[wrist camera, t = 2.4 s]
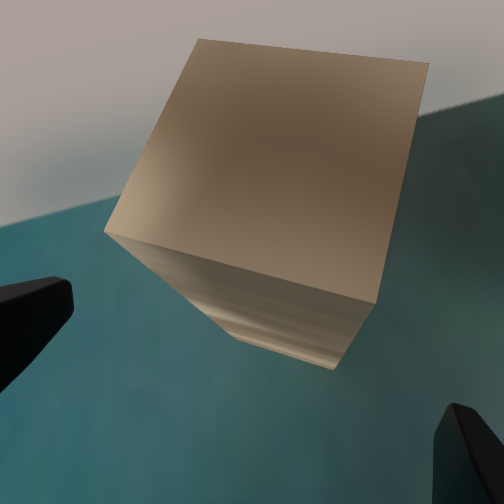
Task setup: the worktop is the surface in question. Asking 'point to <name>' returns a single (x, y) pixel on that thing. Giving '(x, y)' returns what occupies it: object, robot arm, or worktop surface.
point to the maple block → (275, 190)
